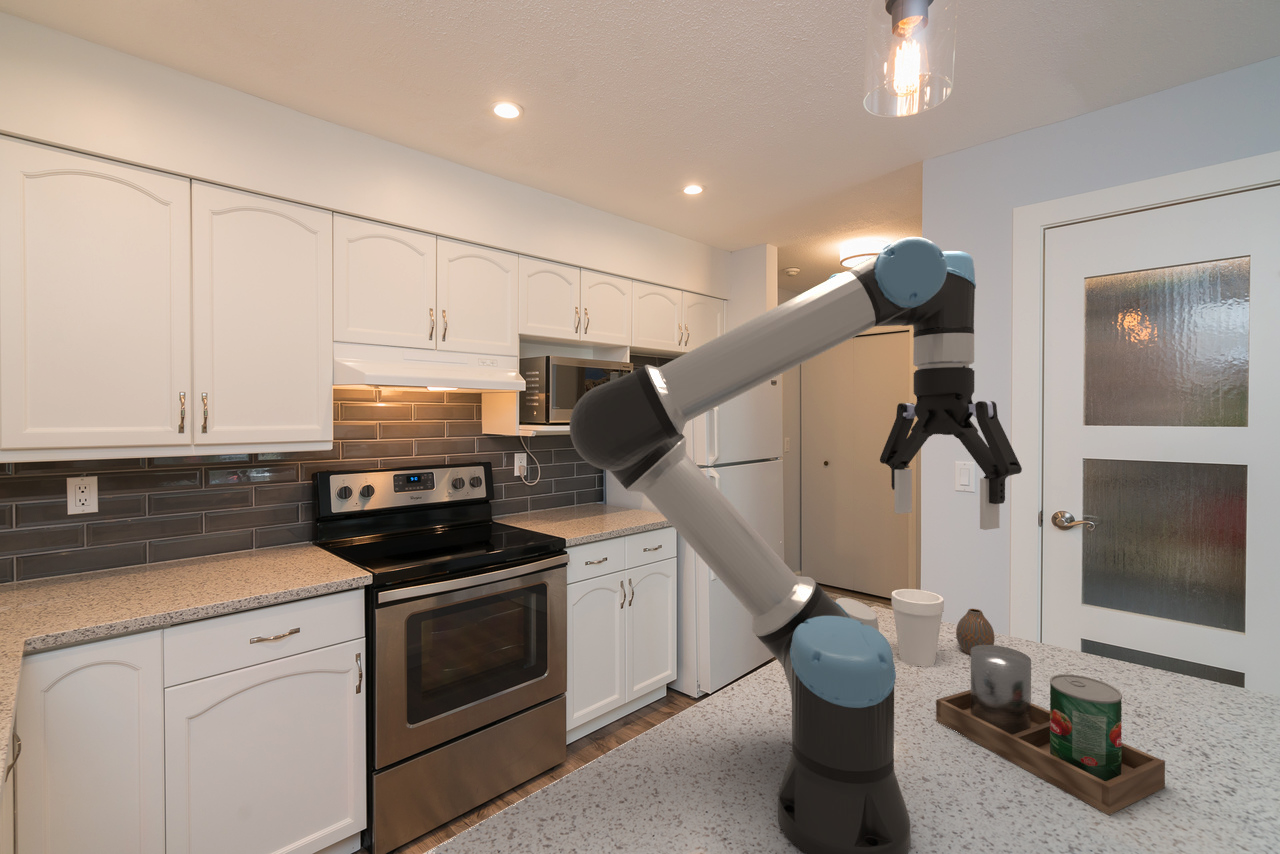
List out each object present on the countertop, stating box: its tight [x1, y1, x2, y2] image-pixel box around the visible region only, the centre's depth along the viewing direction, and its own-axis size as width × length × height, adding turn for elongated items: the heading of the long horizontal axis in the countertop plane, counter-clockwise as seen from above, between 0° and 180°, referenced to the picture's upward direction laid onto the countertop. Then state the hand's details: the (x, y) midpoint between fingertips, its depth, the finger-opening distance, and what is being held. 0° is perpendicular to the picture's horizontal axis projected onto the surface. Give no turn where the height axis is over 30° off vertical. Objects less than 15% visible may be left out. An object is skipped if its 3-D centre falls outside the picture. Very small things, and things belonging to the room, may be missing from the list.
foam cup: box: [891, 588, 945, 668], centre depth 117 cm, size 10×9×13 cm
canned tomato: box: [1049, 673, 1123, 782], centre depth 80 cm, size 8×8×11 cm
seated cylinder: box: [970, 644, 1032, 735], centre depth 91 cm, size 8×8×11 cm
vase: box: [955, 608, 996, 656], centre depth 121 cm, size 7×7×9 cm
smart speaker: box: [835, 597, 880, 632], centre depth 111 cm, size 10×9×14 cm
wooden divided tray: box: [935, 689, 1166, 816], centre depth 86 cm, size 24×13×4 cm, turn 24°
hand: (943, 520), depth 82 cm, fingers open, 13 cm apart
